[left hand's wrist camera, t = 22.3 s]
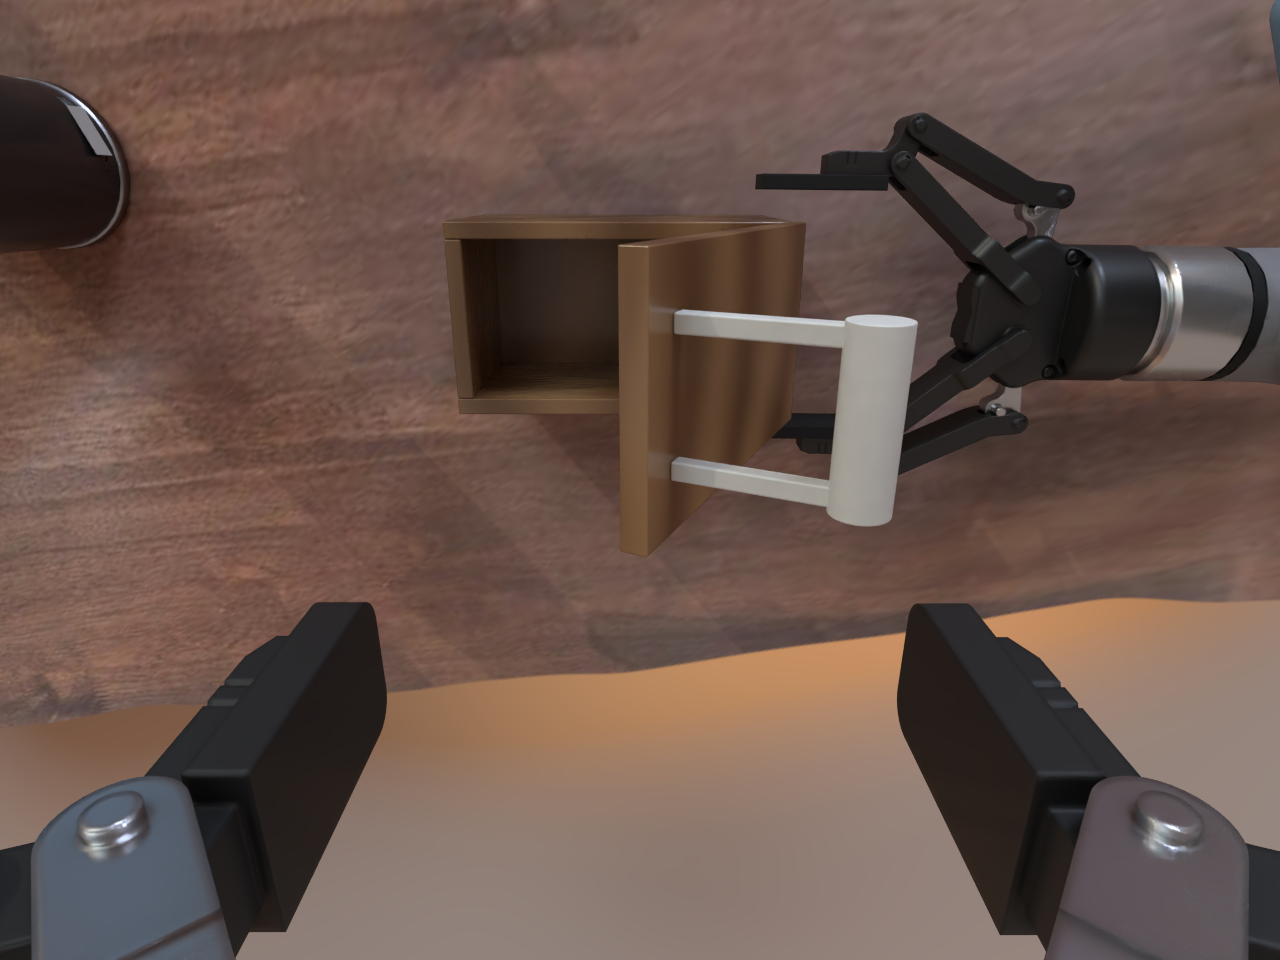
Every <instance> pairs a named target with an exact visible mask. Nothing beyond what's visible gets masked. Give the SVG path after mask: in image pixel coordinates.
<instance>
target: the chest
mask: <svg viewBox="0 0 1280 960" xmlns="http://www.w3.org/2000/svg"><path fill="white" fill-rule="evenodd" d="M785 222H790V221H786V220H781V219H777V218H772V217H767V216H763V215H479V216H473V217H467V218H461V219H455V220H448V221H444V222H443V231H444V238H445V241H444V242H445V254H446V265H447V277H448V288H449V299H450V311H451V322H452V333H453V345H454V356H455V368H456V379H457V390H458V398H459V399H458V403H459V413H460V414H619V310H618V245H620V244H628V243H635V242H643V241H650V240H658V239H665V238H673V237H680V236H688V235H695V234H702V233H710V232H717V231H725V230H732V229H740V228H747V227H755V226H762V225H770V224H777V223H785Z"/></svg>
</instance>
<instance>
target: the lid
mask: <svg viewBox="0 0 1280 960" xmlns="http://www.w3.org/2000/svg"><path fill="white" fill-rule="evenodd" d="M805 231H806V223H801V222H785V223H777V224H770V225H762V226H755V227H747V228H740V229H732V230H725V231H717V232H710V233H702V234H695V235H688V236H680V237H673V238H665V239H658V240H650V241H643V242H635V243H628V244H620V245H618V310H619V428H620V546H621V552H625V553H630V554H634V555H639V556H643V557H647V556H649V555H650V554H651V553H652V552H653V551H654V550H655V549H656V548H657V547H658V546H659V545H660V544H661V543H662V542H663V541H664V540H665V539H666V538H667V537H668V536H669V535H670V534H671V533H672V532H674V531H675V530H676V529H677V528H678V527H679V526H680V525H681V524H682V523H683V522H684V521H685V520H686V519H687V518H688V517H689V516H690V515H691V514H692V513H693V512H694V511H695V510H696V509H697V508H699V507H700V506H701V505H702V504H703V503H704V502H705V501H706V500H707V499H708V498H709V497H710V496H711V495H712V494H713V493H714V492H715V491H716V490H717V489H724V490H730V491H736V492H742V493H747V494H753V495H759V496H765V497H770V498H776V499H782V500H788V501H794V502H799V503H805V504H811V505H817V506H823V507H827V508H826V511H827V513H828V515H829V516H830V517H832V518H833V519H835V520H837V521H839V522H842V523H845V524H849V525H855V526H879V525H883V524H886V523H888V522H889V521H890V520H891V518H892V514H893V506H894V499H895V491H896V484H897V476H898V469H899V461H900V454H901V446H902V439H903V431H904V424H905V416H906V409H907V401H908V394H909V387H910V379H911V372H912V364H913V357H914V349H915V342H916V334H917V327H918V322H917V321H915V320H913V319H910V318H905V317H899V316H889V315H857V316H851V317H848V318H846V319H845V321H835V320H821V319H807V318H799V309H800V296H801V283H802V270H803V257H804V244H805ZM797 345H808V346H819V347H831V348H842V357H841V367H840V377H839V387H838V397H837V407H836V417H835V427H834V437H833V447H832V457H831V468H830V478H829V480H823V479H817V478H811V477H804V476H798V475H792V474H785V473H779V472H773V471H766V470H760V469H754V468H747V467H741V466H742V465H743V464H744V463H745V462H746V461H747V460H749V459H750V458H751V457H752V456H753V455H754V454H755V453H756V452H757V451H758V450H759V449H760V448H761V447H762V446H763V445H764V444H765V443H766V442H767V441H768V440H769V439H770V438H771V437H772V436H774V435H775V434H776V433H777V432H778V431H779V430H780V429H781V428H782V427H783V426H784V425H785V424H786V423H787V422H788V421H789V420H790V419H791V413H792V400H793V387H794V374H795V361H796V348H797Z"/></svg>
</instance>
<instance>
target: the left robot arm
mask: <svg viewBox="0 0 1280 960" xmlns="http://www.w3.org/2000/svg"><path fill="white" fill-rule="evenodd" d="M129 196H130V177H129V170H128V166H127V162H126V159H125V155H124V153H123V150H122V148H121V146H120V144H119V142H118V140H117V138H116V136H115V134H114V133H113V131H112V130H111V128H110V127H109V125H108V124H107V123H106V121H105V120H104V119H103V118H102V116H101V115H100V114H99V113H98V112H97V111H96V110H95V109H94V108H93V107H92V106H90V105H89V104H88V103H87V102H86V101H84V100H83V99H82V98H80V97H79V96H77V95H76V94H74V93H73V92H71V91H69V90H67V89H65V88H63V87H61V86H59V85H56V84H53V83H50V82H46V81H42V80H37V79H31V78H23V77H9V76H3V75H0V253H10V252H20V251H33V250H43V249H53V248H56V249H69V248H80V247H85V246H89V245H92V244H95V243H97V242H99V241H101V240H103V239H104V238H106V237H107V236H109V235H110V234H111V233H112V232H113V231H114V230H115V229H116V228H117V226H118V225H119V224H120V222H121V220H122V219H123V217H124V214H125V212H126V209H127V206H128V202H129ZM386 705H387V691H386V683H385V676H384V669H383V662H382V656H381V649H380V642H379V635H378V628H377V621H376V616H375V612H374V609H373V607H372V605H371V604H370V603H368V602H318V603H315V604H314V605H313V606H312V607H311V608H310V609H309V611H308V612H307V613H306V614H305V616H304V617H303V618H302V619H301V621H300V622H299V623H298V625H297V626H296V627H295V628H294V630H293V631H292V632H291V633H290V635H289V636H276V637H274V638H273V639H271V640H270V641H268V642H267V643H265V644H264V645H262V646H261V647H259V648H258V649H256V650H254V651H253V652H251V653H250V654H248V655H247V656H245V657H244V659H243V660H242V661H241V662H240V663H239V664H238V666H237V667H236V668H235V669H234V670H233V672H232V673H231V674H230V675H229V676H228V677H227V679H226V680H225V684H224V686H220V687H219V688H218V689H217V690H216V692H215V693H214V694H213V695H212V696H211V698H210V699H209V700H208V704H207V706H203V707H202V708H201V709H200V711H199V712H198V713H197V714H196V715H195V717H194V718H193V719H192V720H191V721H190V723H189V724H188V725H187V726H186V727H185V728H184V730H183V731H182V732H181V733H180V734H179V736H178V737H177V738H176V739H175V740H174V741H173V743H172V744H171V745H170V746H169V747H168V748H167V750H166V751H165V752H164V753H163V754H162V756H161V757H160V758H159V759H158V760H157V762H156V763H155V764H154V765H153V766H152V768H151V769H150V770H149V771H148V772H147V773H146V775H145V776H144V777H136V778H132V779H127V780H123V781H120V782H117V783H114V784H111V785H108V786H106V787H103V788H101V789H98V790H96V791H94V792H92V793H90V794H88V795H86V796H84V797H83V798H81V799H79V800H78V801H76V802H75V803H73V804H71V805H70V806H69V807H67V808H66V809H65V810H63V811H62V812H61V813H59V814H58V815H57V816H56V817H55V818H54V819H53V820H52V821H50V823H49V824H48V825H47V826H46V827H45V828H44V829H43V831H42V832H41V833H40V835H39V836H38V838H37V840H36V842H33V843H29V844H25V845H21V846H16V847H12V848H7V849H3V850H0V960H236V959H235V958H236V956H237V954H238V952H239V950H240V948H241V946H242V944H243V942H244V940H245V939H246V937H247V935H248V933H249V932H286V931H287V928H288V926H289V924H290V922H291V920H292V918H293V916H294V914H295V912H296V910H297V907H298V905H299V903H300V901H301V899H302V897H303V895H304V893H305V891H306V889H307V886H308V884H309V882H310V880H311V878H312V876H313V874H314V872H315V870H316V868H317V866H318V863H319V861H320V859H321V857H322V855H323V853H324V851H325V849H326V847H327V845H328V842H329V840H330V838H331V836H332V834H333V832H334V830H335V828H336V826H337V824H338V822H339V819H340V817H341V815H342V813H343V811H344V809H345V807H346V805H347V803H348V801H349V798H350V796H351V794H352V792H353V790H354V788H355V786H356V784H357V782H358V780H359V777H360V775H361V773H362V771H363V769H364V767H365V765H366V763H367V761H368V759H369V757H370V754H371V752H372V750H373V748H374V746H375V744H376V742H377V740H378V738H379V736H380V733H381V731H382V728H383V724H384V720H385V714H386ZM897 709H898V717H899V722H900V726H901V729H902V732H903V735H904V737H905V739H906V741H907V743H908V745H909V747H910V750H911V752H912V754H913V756H914V758H915V760H916V762H917V764H918V766H919V768H920V770H921V772H922V774H923V777H924V779H925V781H926V783H927V785H928V787H929V789H930V791H931V793H932V795H933V797H934V799H935V801H936V803H937V806H938V808H939V810H940V812H941V814H942V816H943V818H944V820H945V822H946V824H947V826H948V828H949V830H950V832H951V835H952V837H953V839H954V841H955V843H956V845H957V847H958V849H959V851H960V853H961V855H962V857H963V859H964V861H965V863H966V866H967V868H968V870H969V872H970V874H971V876H972V878H973V880H974V882H975V884H976V886H977V888H978V890H979V892H980V895H981V897H982V899H983V901H984V903H985V905H986V907H987V909H988V911H989V913H990V915H991V917H992V919H993V922H994V924H995V926H996V928H997V930H998V932H999V934H1000V935H1038V937H1039V939H1040V941H1041V943H1042V945H1043V947H1044V948H1045V951H1046V955H1045V959H1044V960H1280V851H1276V850H1272V849H1267V848H1263V847H1259V846H1254V845H1251V844H1247V843H1245V842H1244V839H1243V838H1242V836H1241V835H1240V833H1239V832H1238V831H1237V829H1236V828H1235V827H1234V826H1233V825H1232V824H1231V823H1230V822H1229V821H1228V820H1227V819H1226V818H1225V817H1224V816H1223V815H1222V814H1221V813H1219V812H1218V811H1217V810H1215V809H1214V808H1213V807H1211V806H1210V805H1209V804H1207V803H1205V802H1204V801H1202V800H1201V799H1199V798H1197V797H1196V796H1194V795H1192V794H1190V793H1188V792H1186V791H1184V790H1182V789H1179V788H1177V787H1174V786H1172V785H1169V784H1166V783H1163V782H1160V781H1157V780H1153V779H1148V778H1144V777H1141V776H1140V775H1139V774H1138V773H1137V772H1136V770H1135V769H1134V768H1133V767H1132V766H1131V765H1130V763H1129V762H1128V761H1127V760H1126V759H1125V758H1124V756H1123V755H1122V754H1121V753H1120V752H1119V750H1118V749H1117V748H1116V747H1115V746H1114V745H1113V743H1112V742H1111V741H1110V740H1109V739H1108V738H1107V736H1106V735H1105V734H1104V733H1103V732H1102V731H1101V729H1100V728H1099V727H1098V726H1097V725H1096V724H1095V722H1094V721H1093V720H1092V719H1091V718H1090V717H1089V715H1088V714H1087V713H1086V712H1085V711H1084V709H1083V708H1078V702H1077V701H1076V700H1075V699H1074V698H1073V697H1072V695H1071V694H1070V693H1069V692H1068V691H1067V690H1066V688H1064V687H1061V685H1060V681H1059V680H1058V679H1057V678H1056V677H1055V675H1054V674H1053V673H1052V672H1051V671H1050V670H1049V668H1048V667H1047V666H1046V665H1045V664H1044V663H1043V661H1042V660H1041V659H1040V658H1039V657H1037V656H1036V655H1034V654H1033V653H1031V652H1030V651H1028V650H1026V649H1025V648H1023V647H1022V646H1020V645H1019V644H1017V643H1016V642H1014V641H1013V640H1011V639H1009V638H1008V637H996V636H995V635H994V634H993V633H992V631H991V630H990V629H989V628H988V626H987V625H986V624H985V623H984V621H983V620H982V619H981V617H980V616H979V615H978V614H977V612H976V611H975V610H974V609H973V608H972V607H971V606H970V605H969V604H915V605H914V606H913V607H912V608H911V611H910V613H909V617H908V623H907V630H906V636H905V643H904V650H903V657H902V663H901V670H900V677H899V684H898V691H897Z"/></svg>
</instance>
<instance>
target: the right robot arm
mask: <svg viewBox="0 0 1280 960" xmlns="http://www.w3.org/2000/svg"><path fill="white" fill-rule="evenodd" d="M1270 28H1271V34H1272V40H1273V46H1274V52H1275V58H1276V65H1277V71H1278V77H1279V83H1280V0H1276V1H1275V2H1274V4H1273V7H1272V9H1271V13H1270ZM917 152H920V153H921V154H923V155H925V156H926V157H928V158H930V159H931V160H933V161H935V162H936V163H938V164H940V165H941V166H943V167H945V168H946V169H948V170H950V171H951V172H953V173H955V174H956V175H958V176H960V177H961V178H963V179H965V180H966V181H968V182H970V183H971V184H973V185H975V186H976V187H978V188H980V189H981V190H983V191H985V192H986V193H988V194H990V195H991V196H993V197H995V198H997V199H999V200H1001V201H1003V202H1006V203H1009V204H1014V205H1015V208H1014V215H1015V217H1016V218H1017V219H1018V220H1020V221H1022V222H1024V223H1025V224H1026V226H1027V235H1025V236H1023V237H1020V238H1019V239H1017V240H1016V241H1014V242H1013V243H1011V244H1010V245H1008V246H1007V247H1005V248H1003V247H1002V246H1001V245H1000V244H999V243H998V242H997V241H996V240H995V239H993V238H991V237H990V236H988V235H987V234H986V233H985V232H984V230H983V229H982V228H981V227H980V226H979V225H978V224H977V223H976V222H975V221H974V220H973V219H972V218H971V217H970V216H969V215H968V213H967V212H966V211H965V210H964V209H963V208H962V207H961V206H960V205H959V204H958V203H957V202H956V201H955V200H954V199H953V198H952V196H951V195H950V194H949V193H948V192H947V191H946V190H945V189H944V188H943V187H942V186H941V185H940V184H939V183H938V182H937V181H936V180H935V178H934V177H933V176H932V175H931V174H930V173H929V172H928V171H927V170H926V169H925V168H924V167H923V166H922V165H921V164H920V163H919V161H918V160H917V159H916V158H915V156H916V154H917ZM888 182H889V183H890V185H891V186H892V187H893V188H894V189H895V190H896V191H897V192H898V193H899V194H900V195H901V196H902V197H903V198H904V199H905V200H906V201H907V202H908V203H909V204H910V205H911V206H912V207H913V208H914V209H915V210H916V211H917V213H918V214H919V215H920V216H921V217H922V218H923V219H924V220H925V221H926V222H927V223H928V224H929V225H930V226H931V227H932V228H933V229H934V230H935V231H936V232H937V233H938V234H939V235H940V236H941V237H942V238H943V239H944V241H945V242H946V243H947V244H948V245H949V246H950V247H951V248H952V249H953V250H954V253H955V255H956V256H957V257H958V258H959V259H960V260H961V261H962V262H963V263H964V264H965V265H966V266H967V267H968V268H969V269H970V270H971V271H970V272H969V273H968V274H967V275H966V277H965V278H964V280H963V282H962V283H958V289H957V296H956V297H957V306H958V311H957V313H956V315H955V318H954V320H953V323H952V327H951V333H950V337H952V338H953V339H954V344H955V346H956V347H955V348H953V349H952V350H951V351H949V352H948V353H947V354H945V355H944V356H943V357H941V358H940V359H939V360H938V361H937V364H936V365H935V366H934V367H933V368H932V369H930V370H929V371H928V372H926V373H925V374H923V375H922V376H921V377H919V378H918V379H917V380H915V381H914V382H913V383H911V384H910V387H909V394H908V401H907V409H906V416H905V424H904V431H903V433H904V432H905V431H906V430H908V429H909V428H911V427H912V426H913V425H915V424H916V423H918V422H919V421H920V420H922V419H923V418H925V417H926V416H927V415H929V414H930V413H931V412H933V411H934V410H936V409H937V408H938V407H940V406H941V405H943V404H944V403H945V402H947V401H948V400H950V399H951V398H952V397H954V396H955V395H957V394H958V393H959V392H961V391H963V390H966V389H970V388H972V387H974V386H976V385H977V384H978V383H980V382H981V381H983V380H984V379H985V378H987V377H988V376H989V377H990V378H992V379H993V380H994V381H995V382H997V383H999V384H998V388H997V390H996V391H995V392H994V393H993V394H991V395H988V396H986V397H983V398H981V399H980V401H979V405H978V406H972V407H969V408H965V409H962V410H960V411H957V412H955V413H953V414H950V415H948V416H946V417H943V418H941V419H939V420H937V421H934V422H932V423H930V424H927V425H925V426H923V427H921V428H918V429H916V430H914V431H911V432H909V433H907V434H905V435H903V439H902V446H901V454H900V461H899V469H898V475H900V474H902V473H904V472H907V471H909V470H911V469H914V468H916V467H918V466H921V465H923V464H925V463H928V462H930V461H932V460H935V459H937V458H939V457H942V456H944V455H946V454H949V453H951V452H953V451H956V450H958V449H960V448H963V447H965V446H967V445H970V444H972V443H974V442H977V441H979V440H981V439H984V438H986V437H989V436H999V435H1009V434H1018V433H1021V432H1023V431H1024V430H1025V429H1026V428H1027V425H1028V419H1027V417H1026V416H1024V415H1023V414H1021V413H1020V408H1021V395H1022V387H1023V386H1025V385H1027V384H1029V383H1031V382H1034V381H1038V380H1114V379H1117V378H1119V379H1121V380H1124V381H1241V382H1263V383H1271V384H1277V385H1280V248H1232V247H1218V246H1141V247H1139V248H1137V247H1135V246H1130V245H1066V244H1060V243H1058V242H1056V241H1055V240H1053V239H1052V236H1053V233H1054V229H1055V226H1056V223H1057V220H1058V216H1059V213H1060V210H1061V209H1064V208H1066V207H1068V206H1070V205H1071V204H1072V202H1073V200H1074V198H1075V192H1074V189H1073V188H1072V187H1071V186H1069V185H1066V184H1059V183H1052V182H1044V181H1037V180H1035V179H1033V178H1031V177H1030V176H1028V175H1027V174H1025V173H1023V172H1022V171H1020V170H1018V169H1017V168H1015V167H1013V166H1012V165H1010V164H1009V163H1007V162H1005V161H1004V160H1002V159H1000V158H999V157H997V156H995V155H994V154H992V153H991V152H989V151H987V150H986V149H984V148H982V147H981V146H979V145H977V144H976V143H974V142H972V141H971V140H969V139H968V138H966V137H964V136H963V135H961V134H959V133H958V132H956V131H954V130H953V129H951V128H950V127H948V126H946V125H945V124H943V123H941V122H940V121H938V120H936V119H935V118H933V117H932V116H930V115H928V114H926V113H917V114H913V115H910V116H906V117H903V118H901V119H899V120H898V121H897V122H896V124H895V127H894V134H893V136H892V138H891V140H890V143H889V144H888V146H887V147H886V148H885V149H883V150H882V151H834V152H830V153H828V154H825V155H823V156H822V160H821V171H820V174H757V175H756V187H755V189H784V190H877V191H887V190H888ZM835 417H836V414H808V413H791V419H790V420H789V421H788V422H787V423H786V424H785V425H784V426H783V427H782V428H781V429H780V430H779V431H778V432H777V433H776V434H775V435H774V436H772V437H771V438H796V444H797V445H798V447H799V448H800V450H801V451H804V452H806V453H809V454H817V453H819V454H824V453H826V454H832V447H833V437H834V427H835Z"/></svg>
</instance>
